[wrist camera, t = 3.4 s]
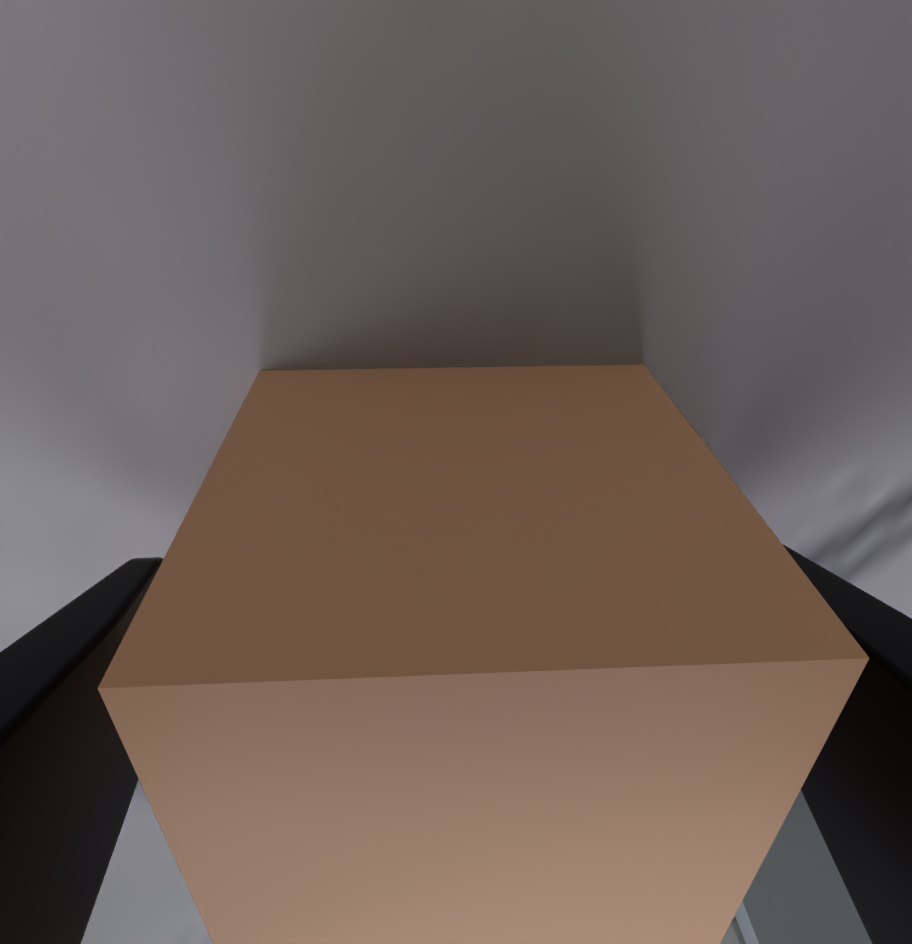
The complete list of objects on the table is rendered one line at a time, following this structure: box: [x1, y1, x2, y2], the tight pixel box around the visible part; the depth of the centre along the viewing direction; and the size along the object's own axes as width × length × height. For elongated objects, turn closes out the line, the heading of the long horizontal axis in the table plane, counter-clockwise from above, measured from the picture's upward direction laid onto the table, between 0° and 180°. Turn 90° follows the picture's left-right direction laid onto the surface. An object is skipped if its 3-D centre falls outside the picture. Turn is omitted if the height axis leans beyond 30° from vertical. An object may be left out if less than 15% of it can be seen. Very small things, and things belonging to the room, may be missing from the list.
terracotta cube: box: [98, 364, 869, 944], centre depth 8 cm, size 5×5×5 cm
